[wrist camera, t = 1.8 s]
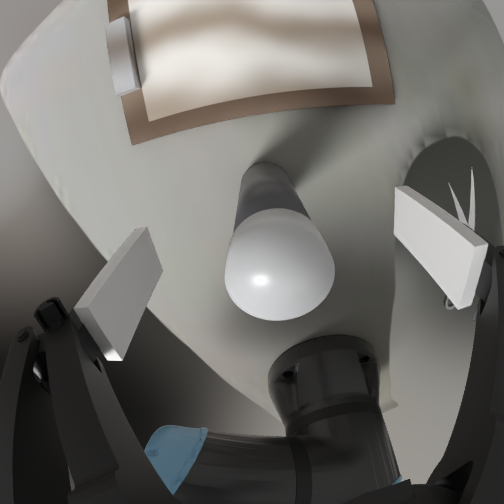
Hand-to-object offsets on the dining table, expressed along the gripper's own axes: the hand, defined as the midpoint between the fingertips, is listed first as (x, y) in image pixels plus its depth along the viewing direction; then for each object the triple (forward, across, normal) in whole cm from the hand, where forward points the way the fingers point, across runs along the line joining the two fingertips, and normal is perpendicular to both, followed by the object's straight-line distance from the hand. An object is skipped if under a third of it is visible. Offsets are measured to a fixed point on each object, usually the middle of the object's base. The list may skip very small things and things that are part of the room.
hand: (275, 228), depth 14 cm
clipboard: (+10, -1, -14) cm, 17 cm away
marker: (+10, 0, 0) cm, 10 cm away
